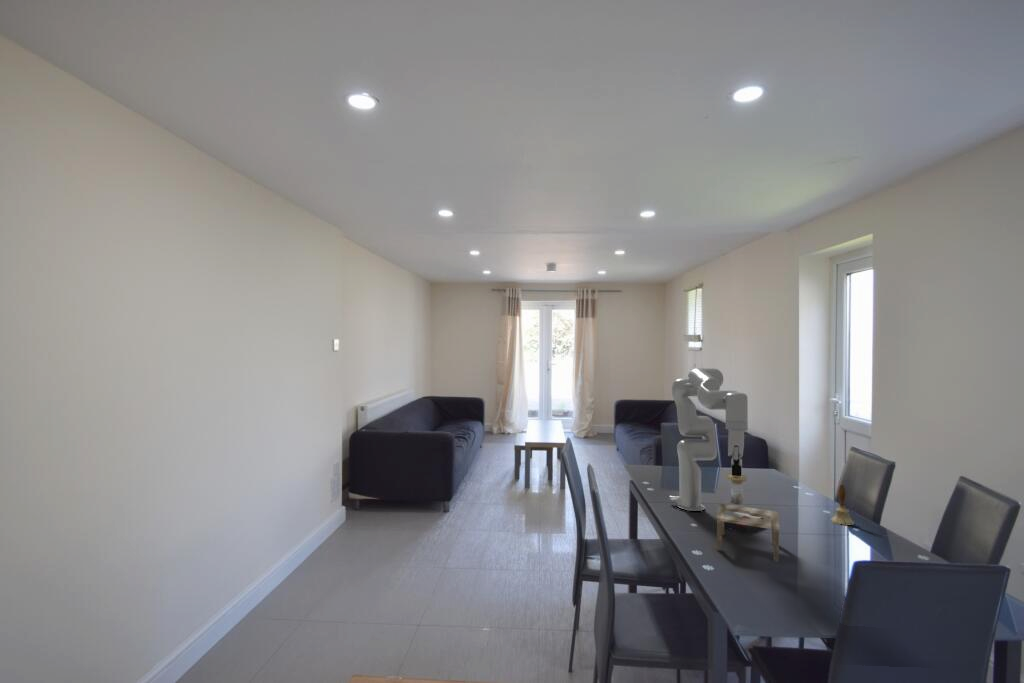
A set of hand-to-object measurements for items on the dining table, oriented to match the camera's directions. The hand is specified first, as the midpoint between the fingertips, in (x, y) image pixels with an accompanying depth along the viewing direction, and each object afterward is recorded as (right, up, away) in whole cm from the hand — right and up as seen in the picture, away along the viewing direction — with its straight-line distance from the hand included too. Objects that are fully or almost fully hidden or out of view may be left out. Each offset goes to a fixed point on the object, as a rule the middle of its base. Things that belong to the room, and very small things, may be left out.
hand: (736, 473), depth 174 cm
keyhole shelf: (+3, -27, -2) cm, 27 cm away
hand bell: (+57, -28, +24) cm, 68 cm away
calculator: (+11, -28, +19) cm, 36 cm away
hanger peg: (0, -11, 0) cm, 11 cm away
